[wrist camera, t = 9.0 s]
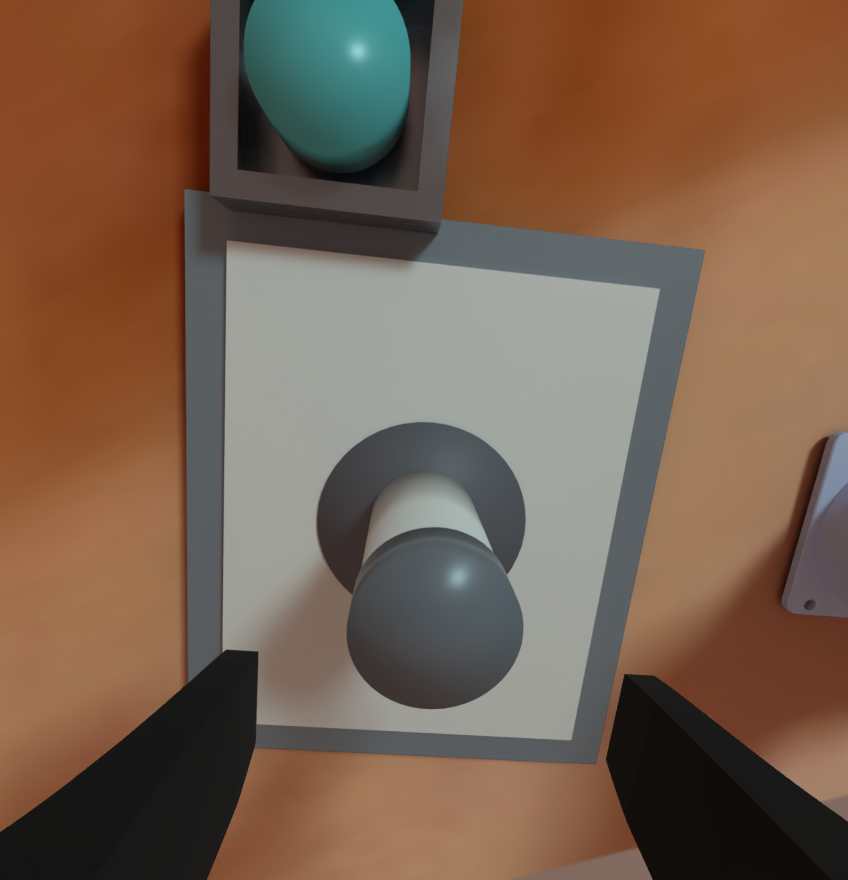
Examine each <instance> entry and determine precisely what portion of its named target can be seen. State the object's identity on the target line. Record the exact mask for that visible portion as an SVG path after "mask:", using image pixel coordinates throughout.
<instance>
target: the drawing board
mask: <svg viewBox="0 0 848 880" xmlns="http://www.w3.org/2000/svg"><path fill="white" fill-rule="evenodd" d="M184 191H185V329H186V466H187V604H188V683H189V682H190V681H191V680H192V679H193V678H194V677H195V676H196V675H198V674H199V673H200V672H201V671H202V670H203V669H204V668H205V667H206V666H207V665H209V664H210V663H211V662H212V661H213V660H214V659H215V658H217V657H218V656H219V655H220V654H221V653H222V652H224V651H225V650H226V649H227V650H243V651H259V653H258V688H257V723H256V743H255V747H254V748H271V749H291V750H312V751H332V752H353V753H373V754H394V755H415V756H435V757H456V758H476V759H497V760H517V761H538V762H558V763H579V764H596V761H597V757H598V752H599V747H600V742H601V738H602V733H603V728H604V724H605V719H606V714H607V709H608V705H609V700H610V695H611V691H612V686H613V681H614V677H615V672H616V667H617V662H618V658H619V653H620V648H621V644H622V639H623V634H624V630H625V625H626V620H627V615H628V611H629V606H630V601H631V597H632V592H633V587H634V582H635V578H636V573H637V568H638V564H639V559H640V554H641V550H642V545H643V540H644V535H645V531H646V526H647V521H648V517H649V512H650V507H651V502H652V498H653V493H654V488H655V484H656V479H657V474H658V470H659V465H660V460H661V455H662V451H663V446H664V441H665V437H666V432H667V427H668V422H669V418H670V413H671V408H672V404H673V399H674V394H675V390H676V385H677V380H678V375H679V371H680V366H681V361H682V357H683V352H684V347H685V342H686V338H687V333H688V328H689V324H690V319H691V314H692V310H693V305H694V300H695V295H696V291H697V286H698V281H699V277H700V272H701V267H702V263H703V258H704V253H705V250H699V249H691V248H682V247H674V246H665V245H657V244H648V243H640V242H631V241H623V240H614V239H606V238H597V237H589V236H580V235H572V234H563V233H554V232H546V231H537V230H529V229H520V228H512V227H503V226H495V225H486V224H478V223H469V222H461V221H452V220H444V219H441V225H440V228H439V231H438V234H429V233H420V232H412V231H403V230H394V229H386V228H377V227H368V226H360V225H351V224H342V223H334V222H325V221H317V220H308V219H299V218H291V217H282V216H273V215H265V214H256V213H247V212H239V211H230V210H229V209H228V208H226V207H225V206H223V205H222V204H221V203H219V202H218V201H217V200H215V199H214V198H212V197H211V196H210V192H206V191H197V190H189V189H184ZM419 470H428V471H435V472H440V473H442V474H445V475H447V476H449V477H451V478H453V479H454V480H456V481H457V482H458V483H459V484H460V485H462V486H463V488H464V489H465V490H466V491H467V493H468V494H469V496H470V498H471V500H472V502H473V505H474V507H475V510H476V512H477V514H478V517H479V519H480V522H481V524H482V526H483V529H484V531H485V533H486V536H487V538H488V541H489V543H490V545H491V548H492V550H493V553H494V554H495V555H496V556H497V557H498V559H499V561H500V562H501V564H502V565H503V567H504V570H505V572H506V574H507V576H508V579H509V581H510V583H511V585H512V588H513V590H514V592H515V595H516V597H517V599H518V602H519V604H520V607H521V611H522V616H523V623H524V627H523V639H522V645H521V648H520V651H519V654H518V656H517V659H516V661H515V663H514V665H513V666H512V668H511V669H510V671H509V672H508V673H507V675H506V676H505V677H504V678H503V679H502V681H500V682H499V683H498V684H497V685H496V686H495V687H494V688H493V689H491V690H490V691H489V692H487V693H486V694H484V695H482V696H481V697H479V698H477V699H475V700H473V701H470V702H468V703H466V704H462V705H459V706H456V707H451V708H445V709H419V708H413V707H409V706H405V705H402V704H399V703H396V702H394V701H392V700H389V699H388V698H386V697H384V696H382V695H381V694H379V693H378V692H377V691H375V690H374V689H373V688H372V687H371V686H370V685H369V684H368V683H367V682H366V681H365V680H364V679H363V678H362V677H361V675H360V674H359V673H358V671H357V669H356V667H355V666H354V664H353V662H352V659H351V656H350V654H349V650H348V645H347V635H346V631H347V621H348V616H349V611H350V606H351V601H352V596H353V591H354V586H355V582H356V579H357V576H358V574H359V572H360V570H361V568H362V563H363V557H364V552H365V546H366V541H367V535H368V530H369V524H370V519H371V513H372V509H373V505H374V503H375V500H376V498H377V497H378V495H379V493H380V492H381V491H382V489H383V488H384V487H385V486H386V485H387V484H388V483H390V482H391V481H392V480H394V479H395V478H397V477H398V476H401V475H403V474H405V473H409V472H413V471H419Z"/></svg>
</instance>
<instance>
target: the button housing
mask: <svg viewBox="0 0 848 880" xmlns="http://www.w3.org/2000/svg"><path fill="white" fill-rule="evenodd" d="M254 1H255V0H210V196H211V197H212V198H214V199H215V200H217V201H218V202H219V203H221V204H222V205H223V206H225V207H226V208H228V209H229V210H230V211H239V212H247V213H256V214H265V215H273V216H282V217H291V218H299V219H308V220H317V221H325V222H334V223H342V224H351V225H360V226H368V227H377V228H386V229H394V230H403V231H412V232H420V233H429V234H438V231H439V228H440V225H441V219H442V209H443V199H444V189H445V179H446V169H447V159H448V149H449V139H450V129H451V119H452V109H453V99H454V89H455V79H456V69H457V59H458V49H459V39H460V29H461V19H462V9H463V0H394V2H395V4H396V5H397V7H398V9H399V11H400V13H401V16H402V18H403V20H404V24H405V27H406V30H407V34H408V39H409V45H410V104H409V111H408V116H407V120H406V124H405V127H404V129H403V132H402V134H401V136H400V137H399V139H398V141H397V143H396V144H395V145H394V147H393V148H392V149H391V151H390V152H389V153H388V154H387V155H386V156H385V157H384V158H382V159H381V160H380V161H378V162H377V163H375V164H374V165H372V166H370V167H368V168H365V169H363V170H360V171H356V172H351V173H332V172H327V171H323V170H320V169H318V168H315V167H313V166H311V165H309V164H307V163H306V162H304V161H303V160H301V159H300V158H299V157H297V156H296V155H295V154H294V153H293V152H292V151H291V150H290V149H289V148H288V147H287V146H286V144H285V143H284V142H283V140H282V139H281V137H280V136H279V134H278V133H277V131H276V130H275V128H274V126H273V125H272V123H271V122H270V120H269V118H268V117H267V115H266V114H265V112H264V110H263V109H262V107H261V106H260V104H259V102H258V100H257V98H256V96H255V95H254V92H253V90H252V87H251V85H250V82H249V79H248V75H247V72H246V66H245V60H244V33H245V28H246V22H247V19H248V16H249V12H250V9H251V7H252V5H253V3H254Z"/></svg>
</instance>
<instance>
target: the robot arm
mask: <svg viewBox="0 0 848 880" xmlns="http://www.w3.org/2000/svg"><path fill="white" fill-rule="evenodd" d="M806 601H808V602H807V603H806V604H805V602H806ZM781 603H782V606H783V607H784V608H785V609H786V610H788V611H789V612H791V613H794V614H803V615H817V616H832V617H846V618H848V432H836V433H834V434H832V435H831V436H830V437H829V439H828V441H827V443H826V446H825V450H824V453H823V457H822V460H821V464H820V467H819V471H818V474H817V478H816V481H815V485H814V488H813V492H812V495H811V499H810V502H809V506H808V509H807V512H806V516H805V519H804V523H803V526H802V530H801V533H800V537H799V540H798V544H797V547H796V551H795V554H794V558H793V561H792V565H791V568H790V572H789V575H788V579H787V582H786V586H785V589H784V593H783V596H782V601H781ZM258 653H259V651H243V650H227V649H226V650H225V651H224V652H222V653H221V654H220V655H219V656H218V657H217V658H215V659H214V660H213V661H212V662H211V663H210V664H209V665H207V666H206V667H205V668H204V669H203V670H202V671H201V672H200V673H199V674H198V675H196V676H195V677H194V678H193V679H192V680H191V681H190V682H189V683H188V684H186V685H185V686H184V687H183V688H182V689H181V690H180V691H179V692H177V693H176V694H175V695H174V696H173V697H172V698H171V699H170V700H168V701H167V702H166V703H165V704H164V705H163V706H162V707H160V708H159V709H158V710H157V711H156V712H155V713H153V714H152V715H151V716H150V717H149V718H147V719H146V720H145V721H144V722H143V723H142V724H140V725H139V726H138V727H137V728H136V729H135V730H133V731H132V732H131V733H130V734H129V735H128V736H126V737H125V738H124V739H123V740H122V741H120V742H119V743H118V744H117V745H115V746H114V747H113V748H112V749H110V750H109V751H108V752H107V753H105V754H104V755H103V756H102V757H100V758H99V759H98V760H97V761H95V762H94V763H93V764H91V765H90V766H89V767H88V768H86V769H85V770H84V771H83V772H81V773H80V774H79V775H78V776H76V777H75V778H74V779H73V780H71V781H70V782H69V783H67V784H66V785H65V786H64V787H62V788H61V789H60V790H58V791H57V792H56V793H54V794H53V795H52V796H50V797H49V798H48V799H46V800H45V801H43V802H42V803H41V804H39V805H38V806H37V807H35V808H34V809H33V810H31V811H30V812H28V813H27V814H26V815H24V816H23V817H22V818H20V819H19V820H17V821H16V822H14V823H13V824H11V825H10V826H9V827H7V828H6V829H4V830H3V831H1V832H0V880H207V878H208V875H209V873H210V871H211V868H212V866H213V863H214V861H215V858H216V856H217V853H218V851H219V848H220V846H221V843H222V841H223V839H224V836H225V834H226V831H227V829H228V826H229V824H230V821H231V819H232V816H233V814H234V811H235V809H236V806H237V804H238V800H239V797H240V794H241V791H242V787H243V784H244V781H245V778H246V774H247V771H248V767H249V764H250V761H251V757H252V754H253V750H254V747H255V743H256V723H257V688H258ZM606 761H607V764H608V768H609V771H610V774H611V777H612V780H613V783H614V786H615V790H616V793H617V795H618V798H619V801H620V804H621V807H622V810H623V813H624V815H625V818H626V821H627V823H628V825H629V828H630V830H631V832H632V835H633V837H634V839H635V841H636V844H637V846H638V848H639V850H640V852H641V854H642V857H643V859H644V861H645V863H646V866H647V868H648V870H649V872H650V874H651V877H652V879H653V880H848V822H847V821H846V820H845V819H843V818H842V817H841V816H839V815H838V814H836V813H835V812H834V811H832V810H831V809H829V808H828V807H827V806H825V805H824V804H822V803H821V802H820V801H818V800H817V799H816V798H814V797H813V796H811V795H810V794H809V793H807V792H806V791H804V790H803V789H802V788H800V787H799V786H798V785H796V784H795V783H794V782H792V781H791V780H790V779H788V778H787V777H786V776H784V775H783V774H782V773H780V772H779V771H778V770H776V769H775V768H774V767H772V766H771V765H770V764H769V763H767V762H766V761H765V760H763V759H762V758H761V757H759V756H758V755H757V754H756V753H754V752H753V751H752V750H750V749H749V748H748V747H746V746H745V745H744V744H743V743H741V742H740V741H739V740H738V739H736V738H735V737H734V736H732V735H731V734H730V733H729V732H727V731H726V730H725V729H723V728H722V727H721V726H720V725H718V724H717V723H716V722H715V721H713V720H712V719H711V718H709V717H708V716H707V715H706V714H704V713H703V712H702V711H701V710H699V709H698V708H697V707H695V706H694V705H693V704H692V703H690V702H689V701H688V700H686V699H685V698H684V697H683V696H681V695H680V694H679V693H677V692H676V691H675V690H673V689H672V688H671V687H669V686H668V685H667V684H665V683H664V682H662V681H661V680H659V679H658V678H657V677H655V676H648V675H632V674H624V679H623V683H622V688H621V693H620V697H619V702H618V706H617V711H616V716H615V720H614V725H613V729H612V734H611V739H610V743H609V748H608V752H607V757H606Z"/></svg>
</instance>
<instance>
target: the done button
mask: <svg viewBox="0 0 848 880" xmlns="http://www.w3.org/2000/svg"><path fill="white" fill-rule="evenodd" d="M244 60H245V66H246V72H247V75H248V79H249V82H250V85H251V87H252V90H253V92H254V95H255V96H256V98H257V100H258V102H259V104H260V106H261V107H262V109H263V110H264V112H265V114H266V115H267V117H268V118H269V120H270V122H271V123H272V125H273V126H274V128H275V130H276V131H277V133H278V134H279V136H280V137H281V139H282V140H283V142H284V143H285V144H286V146H287V147H288V148H289V149H290V150H291V151H292V152H293V153H294V154H295V155H296V156H297V157H299V158H300V159H301V160H303V161H304V162H306V163H307V164H309V165H311V166H313V167H315V168H318V169H320V170H323V171H327V172H332V173H351V172H356V171H360V170H363V169H365V168H368V167H370V166H372V165H374V164H375V163H377V162H378V161H380V160H381V159H382V158H384V157H385V156H386V155H387V154H388V153H389V152H390V151H391V149H392V148H393V147H394V145H395V144H396V143H397V141H398V139H399V137H400V136H401V134H402V132H403V129H404V127H405V124H406V120H407V116H408V111H409V104H410V45H409V39H408V34H407V30H406V27H405V24H404V20H403V18H402V16H401V13H400V11H399V9H398V7H397V5H396V4H395V2H394V0H255V1H254V3H253V5H252V7H251V9H250V12H249V16H248V19H247V22H246V28H245V33H244Z"/></svg>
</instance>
